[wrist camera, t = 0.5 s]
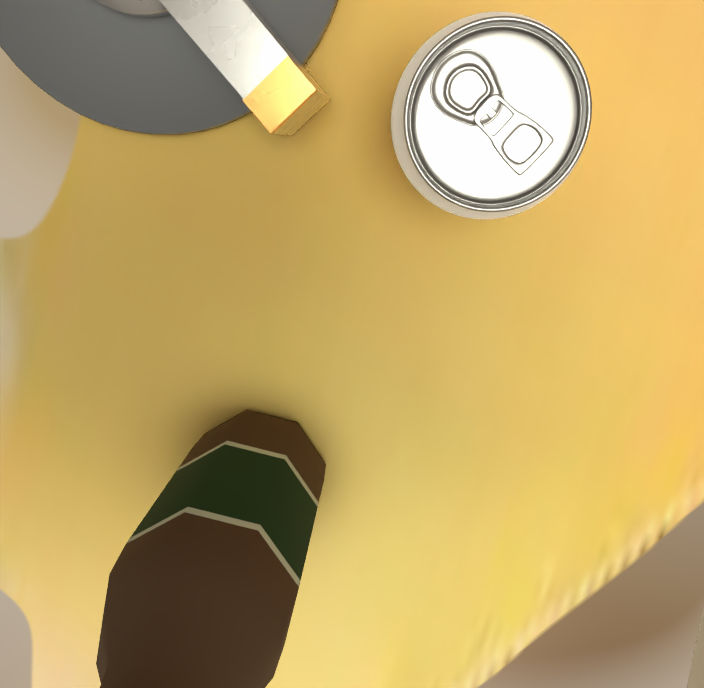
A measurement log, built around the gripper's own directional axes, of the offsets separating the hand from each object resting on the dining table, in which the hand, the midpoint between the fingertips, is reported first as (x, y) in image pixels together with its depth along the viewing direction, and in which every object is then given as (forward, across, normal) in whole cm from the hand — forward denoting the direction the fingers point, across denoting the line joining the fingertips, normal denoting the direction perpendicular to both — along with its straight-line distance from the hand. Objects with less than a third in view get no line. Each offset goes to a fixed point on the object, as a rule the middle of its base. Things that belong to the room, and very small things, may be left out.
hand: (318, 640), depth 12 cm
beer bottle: (+24, -6, -9) cm, 26 cm away
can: (+24, +4, +10) cm, 26 cm away
